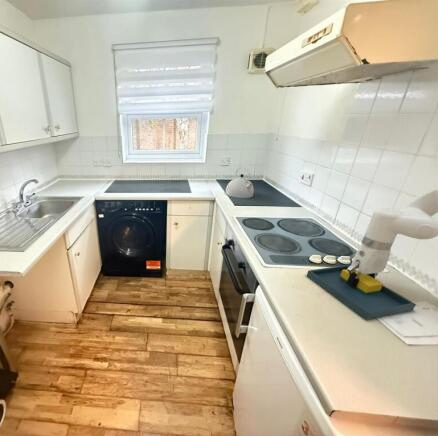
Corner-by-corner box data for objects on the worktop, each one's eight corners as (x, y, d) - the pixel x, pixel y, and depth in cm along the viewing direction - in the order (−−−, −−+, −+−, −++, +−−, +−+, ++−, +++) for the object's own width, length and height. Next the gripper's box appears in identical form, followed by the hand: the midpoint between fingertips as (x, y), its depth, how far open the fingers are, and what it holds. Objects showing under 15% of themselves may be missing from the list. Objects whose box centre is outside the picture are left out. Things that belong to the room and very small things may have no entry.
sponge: (339, 278, 95) (342, 269, 93) (352, 276, 96) (356, 267, 94) (365, 295, 86) (369, 286, 84) (379, 292, 87) (383, 283, 85)
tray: (345, 270, 101) (347, 264, 100) (412, 310, 80) (416, 304, 79) (306, 276, 97) (308, 270, 96) (365, 320, 76) (368, 313, 75)
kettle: (261, 197, 194) (266, 170, 186) (237, 199, 189) (241, 171, 180) (242, 189, 217) (246, 164, 208) (220, 191, 211) (223, 165, 202)
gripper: (367, 250, 78) (349, 293, 85) (408, 245, 82) (388, 287, 89) (346, 240, 85) (331, 280, 92) (384, 235, 88) (367, 275, 95)
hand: (359, 283), depth 90 cm, fingers closed on sponge, 6 cm apart
